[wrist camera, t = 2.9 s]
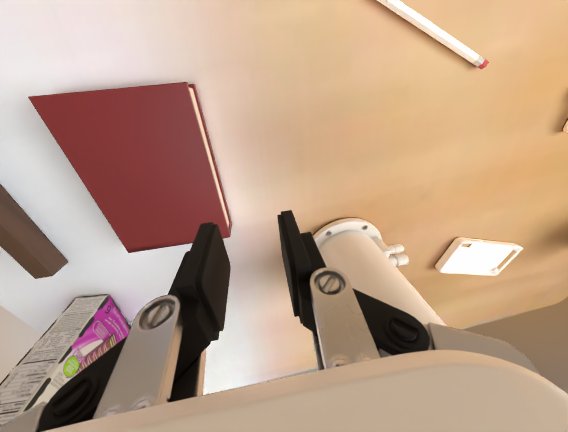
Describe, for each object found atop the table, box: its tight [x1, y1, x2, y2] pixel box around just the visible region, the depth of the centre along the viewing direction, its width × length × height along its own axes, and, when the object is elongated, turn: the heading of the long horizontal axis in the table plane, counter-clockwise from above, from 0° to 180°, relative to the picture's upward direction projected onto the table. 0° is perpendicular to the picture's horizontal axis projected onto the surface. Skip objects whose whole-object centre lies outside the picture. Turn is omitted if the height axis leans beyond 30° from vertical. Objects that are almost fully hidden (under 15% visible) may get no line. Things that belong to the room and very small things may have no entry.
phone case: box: [435, 237, 523, 275], centre depth 38 cm, size 7×1×15 cm
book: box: [28, 82, 232, 253], centre depth 21 cm, size 12×16×3 cm
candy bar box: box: [0, 295, 131, 426], centre depth 26 cm, size 11×5×16 cm, turn 178°
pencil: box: [377, 0, 489, 69], centre depth 19 cm, size 1×19×1 cm, turn 70°
